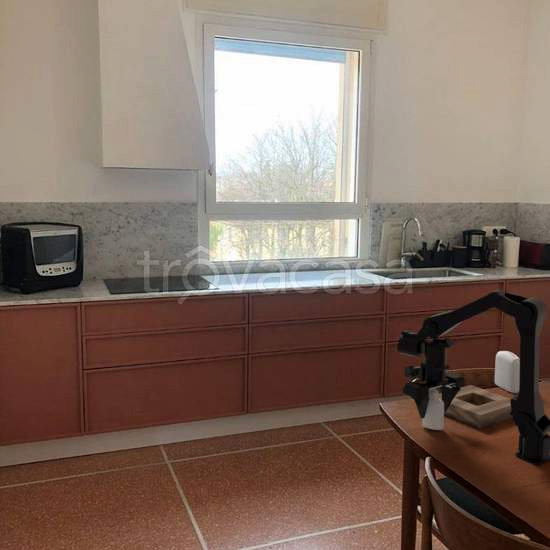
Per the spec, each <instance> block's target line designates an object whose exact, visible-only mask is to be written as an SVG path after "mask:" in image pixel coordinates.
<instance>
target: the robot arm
mask: <svg viewBox="0 0 550 550" xmlns="http://www.w3.org/2000/svg"><path fill="white" fill-rule="evenodd" d="M494 308H495V309H497V310H499V311H500V312H502V313H504V314H506V315H507V316H510V317H513V318H514V324H515V327H516V330H517V332H518V335H519V359H520V376H519V392H518V393H516V394H515V395H514V396H513V397H512V398H510V399H511V400H510V404H511V412H510V415H512V418H511V419H512V422H513V424H514V425H516V426H517V429H518V433H519V435H518V445H517V446H518V448H517V450H518V452H515V457H518V458H521V459H523V460H525V461H528V462H530V463H532V464H535V465H538V466H539V465H541V464H542V465H543V464H544V463H547V462H550V435H549V432H550V418H549V417H548V416H547V414H546V413H545V407H544V406H545V405H544V401H543V397H542V395H541V393H540V390H539V389H540V388H539V384H540V382H539V381H540V378H539V377H540V376H539V375H540V338H541V337H540V336H541V332H542V329H543V327H544V324H545V319H546V315H547V304H546V303H545V302H544V301H543V300H542V299H541V298H538V297H526V296H523V295H520V294H514V293H512V292H511V293H510V292H508V291H504V290H502V289H495V290H492V291H491V292H489V293H488V294H486V295H484V296H482V297H480V298H478V299H475V300H473V301H470V302H468V303H467V304H465V305H463V306H460V307H458V308H456V309H454V310H449V311H445V312H444V311H443V312H440V313H437V314H434V315H432V316H429V317H426V318H425V319H424V320H423V321H422V328H420V329H419V331H418V332H416V331H415V332H414V331H411V330H407V329H404V330H402V331H401V335H400V337H399V339H398V342H397V345H396V346H397V347H396V349H397V352H398V354H400V355H405V356H409V357H410V356H411V357H414V358H421V356H423V355H424V361H423V362H421V363H420V365H419V366H415V367H414V365H412V364H410V365H406V366H404V371H403V372H404V374H403V375H404V377H405V378H407V379H409V380H410V382H405V383H404V384H403V385H402V394H405V395H407V396H408V397H411V398H412V400H414V403H415V406H416V409H417V412H418V414H419V417H420V418H421V419H422V418H424V417H425V415H426V411H427V407H428V403H429V399H430V397H429V390H431V389H434V388H436V389H437V388H439V390H440V391H441V395H442V401H443V402H444V412H446V411H447V409H448V407H449V406H450V404H451V402H452V400H453V399H454V397H455V396H456V394H457V393H458V391H460V390H461V388H462V387H466V386H465V385H466V380H465V378H464V376H462V375H460V374H457V373H454V372H447V370H449V369H450V364H447V349H449V348H451V347H454V346H455V342H454V341H453V340H451V338H450V337H449V336H447V337H445V338H439V337H441V336H443V335H445V334H447V333H449V332H450V331H452V330H453V329H454V328H456V327H457V326H459V324H461V323H463V322H464V321H467V320H469V319H471V318H473V317H476V316H478V315H481V314H483V313H485V312H488V311H490V310H492V309H494ZM412 380H418V381H412ZM420 382H423V383H420Z"/></svg>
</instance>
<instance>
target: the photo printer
mask: <svg viewBox="0 0 550 550" xmlns="http://www.w3.org/2000/svg"><path fill="white" fill-rule="evenodd" d="M494 365H495V366H494V384H495V385H496V386H497V387H499V388H501V389H503V390H504V391H507V392H509V393H512V394H518V393H519V376H520V357H519V356H518V355H516V354H515V353H513V352H511V351H507V350H499V351H498V352H497V353H496V354H495V363H494Z"/></svg>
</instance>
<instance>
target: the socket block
mask: <svg viewBox="0 0 550 550" xmlns="http://www.w3.org/2000/svg"><path fill="white" fill-rule="evenodd" d="M438 399H440V400H442V395H441V393H438ZM511 399H512V398H510V397H506V396H504V395H500V394H498V393H495V392H492V391H489V390H486V389H483V388H480V387H478V386H475V385H472V384H471V385H470V384H469V385H466V386H465V387H461V390H460V391H458V393H457V394H456V396H455V397H454V399H453V400H452V402H451V404H450V406H449V407H448V409H447V411H446V412H444V415H445V414H446V415H445V416H447V415H448V417H450V418H452V417H453V418H452V419H455V420H457V421H460V422H461V423H465V424H467V425H470V426H472V427H475V428H477V429H483V428H485V427H489V426H492V425H495V424H498V423H501V422H504V421H507V420H509V419H512V415H510V412H511V404H510V400H511Z"/></svg>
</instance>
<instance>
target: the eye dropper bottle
mask: <svg viewBox="0 0 550 550" xmlns="http://www.w3.org/2000/svg"><path fill="white" fill-rule="evenodd" d="M438 394H439V390H438V389H437V388H434V389H431V390H429V394H428V397H430V399H429V403H428V407H427V411H426V415H425V417H424V418H421V421H422V423H421V425H422V426H423V427H424V428H426V429H429V430H433V431H442V430H443V428H444V426H445V425H444V422H445V421H444V420H445V419H444V417H445V414H444V402H443V401H442V400H440V399H438Z"/></svg>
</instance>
